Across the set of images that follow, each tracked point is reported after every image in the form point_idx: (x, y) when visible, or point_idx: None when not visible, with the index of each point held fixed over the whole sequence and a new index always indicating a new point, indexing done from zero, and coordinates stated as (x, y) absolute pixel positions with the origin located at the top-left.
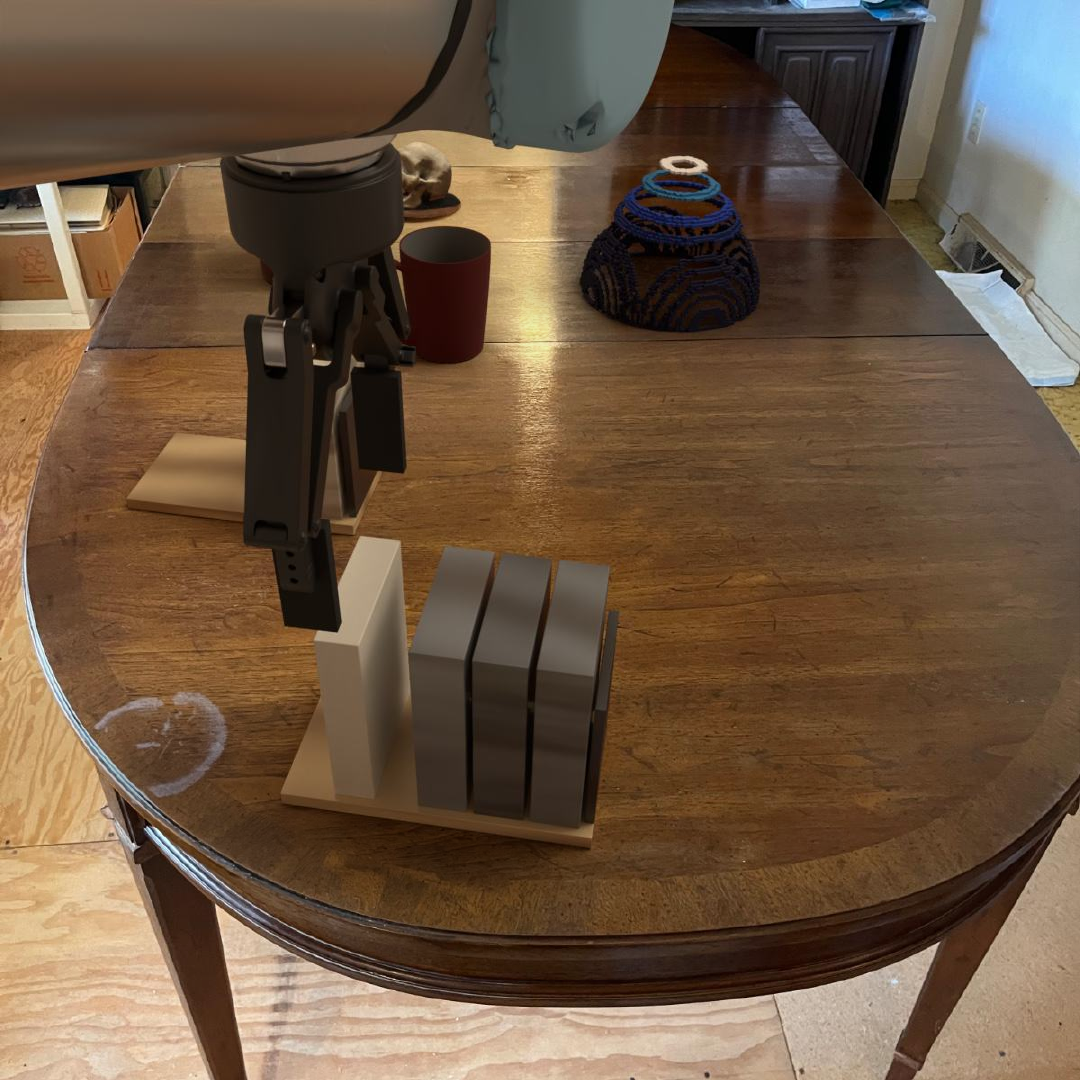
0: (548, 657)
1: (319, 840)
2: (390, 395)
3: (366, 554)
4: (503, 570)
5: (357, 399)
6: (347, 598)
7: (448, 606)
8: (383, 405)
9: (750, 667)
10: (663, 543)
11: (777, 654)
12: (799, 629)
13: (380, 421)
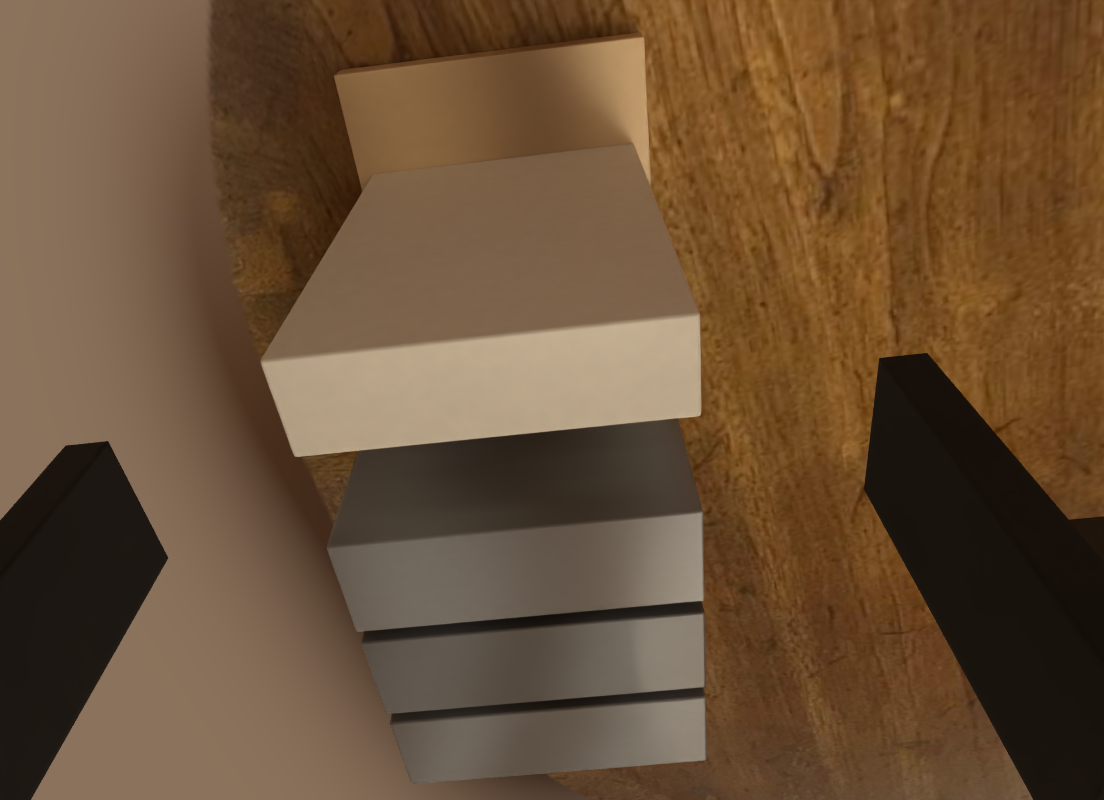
0: (424, 733)
1: (303, 167)
2: (1021, 741)
3: (622, 358)
4: (642, 629)
5: (1034, 594)
6: (435, 378)
7: (492, 574)
8: (999, 666)
9: (803, 617)
10: (1093, 489)
11: (833, 640)
12: (886, 656)
13: (961, 587)
